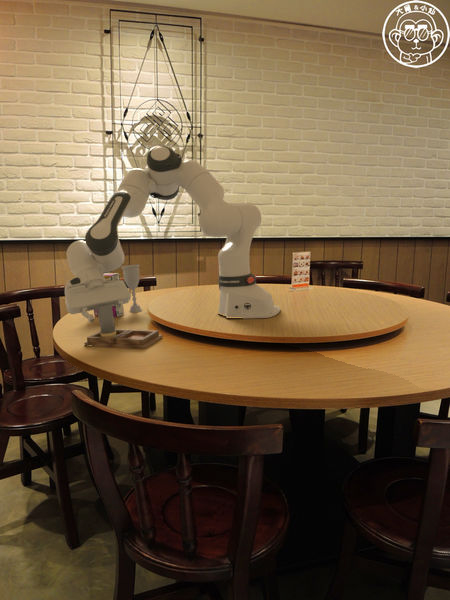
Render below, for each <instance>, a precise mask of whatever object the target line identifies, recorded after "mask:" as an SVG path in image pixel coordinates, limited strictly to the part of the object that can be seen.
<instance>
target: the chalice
mask: <svg viewBox="0 0 450 600" xmlns="http://www.w3.org/2000/svg"><path fill="white" fill-rule="evenodd" d="M139 267H140V264H129V265H122V266H121V267H120V268H121V269H122V273H123V281H124V283H125V285H126V287H127V288H128V290H131V291H132V293H131V297H132V298H131V299H132V301H133V304H132V305H131V306H130V308H129V311H128V312H129V313H138V312H139V313H140V312H142V311H143V309H142V307H141V306H140V304H138V303H137V297H136V292H135V290H136V289H137V288H138V286H139V283H140V268H139Z"/></svg>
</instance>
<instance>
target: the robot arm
mask: <svg viewBox="0 0 450 600" xmlns="http://www.w3.org/2000/svg"><path fill="white" fill-rule="evenodd" d="M146 164H147V169H142V168H136V167H135V168H132V169H130V170H129V171H128V172H127V173H126V174H125V175H124V177H123V179H122V180H121V182H120V183H119V186H118V188H117V190H116V192H115V193H114V194H113V195H112V196H111V197H110V198H109V200H108V202H107V204H106V205H105V207H104V208H103V211H102V212H101V214H100V216H99V217H98V219H97V220H96V221H95V223H94V224H92V225H91V226H90V227H89V228H88V229H87V231H86V233H85V237H84V239H85V240H76V241H74V242H72V243H70V245H69V246H68V248H67V250H66V259H67V264H68V266H69V269H70V271H71V273H72V274H73V275H74V277H72V278H70V279H68V280H67V281H66V283H65V286H64V296H65V300H64V301H65V306H66V307H65V308H66V310H67V312H68V314H70V315H76V314H81V315H82V316H83V317H84V318H86V319H87V320H88V323H92V322H95V320H96V319H95V316H94V313H90V311H94V310H96V309H97V306H100V305H105V304H111V305H112V306H116V305H117V306H118V307H120V308H119V309H117V314H118V316H119V317H121V316H124V315H125V312H123V309H124V308H123V309H122V306H123V307H124V304H128V303H129V302H130V301H131V299H132V293H131V292H130V289H129V287H128V286H127V284H126V282H125V280H124V279H123V280H122V279H120V280H119V279H114V280H107V281H106V280H105V277H104V275H103V274H105V273H112V272H115V271H116V270H119V269H120V268H121V267H122V266H124V265H123V264H124V263H125V259H126V256H125V252H124V250H123V247H122V245H121V242H120V239H119V235H118V227H119V224H120V222H121V221H122V218H128V219H129V218H131V219H132V218H136V217H140V215H141V214H142V213H143V212H144V210H145V207H146V205H147V203H148V199H149V196H150V197H152V198H153V199H158V200H161V201H169V200H173V199H175V198H176V197H177V196H178V195H179V192H180V187H181V188H182V189H183V190H185V191H186V193H187V194H188V195H189V197H190V198H191V199H192V200H193V202H194V203H195V204H196V205H197V206H198V208H199V209H200V214H199V216H198V226H199V229H200V230H201V232H202V233H203V234H204V235H205V236H207V237H211V238H224V237H226V239H225V242H224V244H223V247H222V248H221V249H220V250H219V252H218V254H217V259H218V260H217V262H218V273H219V274H218V281H217V282H218V289H219V303H218V305H219V306H218V311H217V313H218V312H219V313H221V314H224V315H225V316H228V317H243V319H267V318H272V317H275V316H277V315H278V314H279V313H280V311H281V308H280V306H279V305H275V304H274V299H273V297H272V294H271V293H270V292H269V291H267V290H265V288H262V287H261V286H260V285H259V284H257V274H255V275H254V274H253V273H251V267H250V251H251V250H250V249H251V244H252V241H253V237H254V234H255V232H256V231H257V229H258V228H259V227H260V225H261V222H262V213H261V211H260V209H259V208H258V206H256V205H255V204H251V203H248V202H238V203H237V202H236V203H235V202H234V203H229V202H227V201H225V200H224V197H225V188H224V187H223V185H221V183H220V182H219V181H218V180H217V179H216V178H215V176H214V175H213V174H212V173H211V172H209V170H208V169H207V168H205V167H204V166H203V165H202V164H200V163H199V162H197V161H195V160H193V159H190V160H189V159H188V160H185V161H183V159H182V155H180V154H179V153H177V152H175V151H174V149H172V148H171V147H168V146H166V145H156V146H154V147H151V148H150V149H149V150H148V152H147V155H146ZM123 314H124V315H123Z"/></svg>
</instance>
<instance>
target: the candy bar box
mask: <svg viewBox="0 0 450 600" xmlns="http://www.w3.org/2000/svg"><path fill="white" fill-rule="evenodd" d="M103 275H104V277H105V280H106V281H107V280H114V279H119V280H121V279H120V273H118V272H116V273H113V272H108V273H105V274H103ZM119 308H120V307H118V306H117V305H116V306H112V311H113V318H119V317H120V316H118V314H117V309H119ZM122 309H123V312H124V311H125V310H124V309H125V308H124V305H123V306H122ZM94 315H95V316H94ZM124 315H125V312H124V314H123V315H122V316H124ZM93 316H94V317H99V316H98V310H97V309H96V310H93Z"/></svg>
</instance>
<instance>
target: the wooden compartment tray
mask: <svg viewBox="0 0 450 600" xmlns="http://www.w3.org/2000/svg"><path fill="white" fill-rule="evenodd" d="M115 330H116V334H117V336H115V337H113V338H110V337H101V330H100V331H97V332H96V333H93V334H91V335H89V336H87V337H86V340H87V341H85V342H84V344H85V345H92V346H91V347H95V346H102V347H101V348H117V349H118V348H119V349H136V350H137V349H138V350H145V349H147V348H149V347H150V346H151V345H153V344H155V343H156V342H158V341H159V340H162V338H163V334H160V333H159V330H150V329H148V330H147V329H146V330H145V329H125V328H124V329H121V328H119V329H118V328H115ZM85 345H84V346H85Z"/></svg>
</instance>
